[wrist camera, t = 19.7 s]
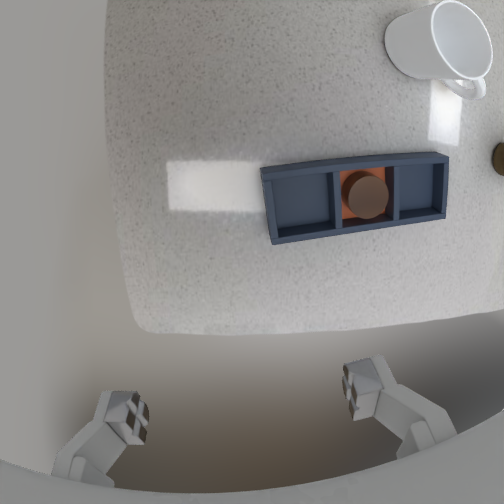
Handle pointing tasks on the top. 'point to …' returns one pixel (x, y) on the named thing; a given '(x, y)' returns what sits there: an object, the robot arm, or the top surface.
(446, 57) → the mug
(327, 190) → the grid
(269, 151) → the top surface
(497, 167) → the kendama
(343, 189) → the cylinder
